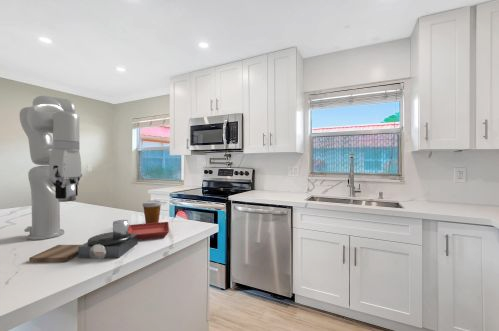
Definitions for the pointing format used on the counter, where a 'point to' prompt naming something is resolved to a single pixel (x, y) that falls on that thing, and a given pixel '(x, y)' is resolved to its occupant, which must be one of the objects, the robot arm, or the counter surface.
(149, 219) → the disposable coffee cup
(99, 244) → the scale
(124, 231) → the cylinder
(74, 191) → the cylinder
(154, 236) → the plant saucer
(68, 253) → the walnut board
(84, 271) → the counter surface
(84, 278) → the counter surface
